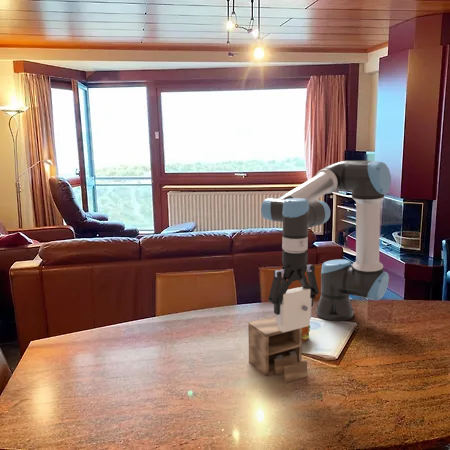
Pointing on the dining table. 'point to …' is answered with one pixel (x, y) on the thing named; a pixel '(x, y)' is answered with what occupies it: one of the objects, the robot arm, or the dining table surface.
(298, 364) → the cabinet
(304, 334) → the cheeseburger
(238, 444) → the dining table surface
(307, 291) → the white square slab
